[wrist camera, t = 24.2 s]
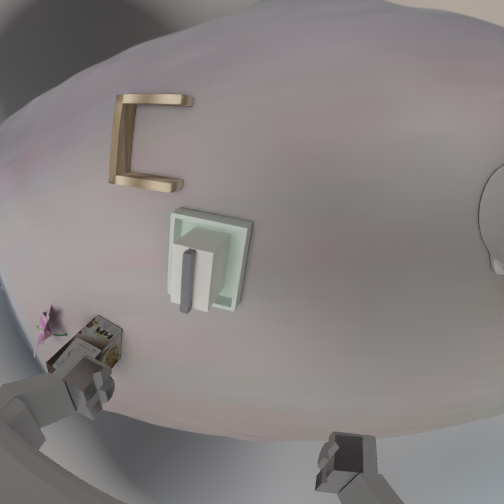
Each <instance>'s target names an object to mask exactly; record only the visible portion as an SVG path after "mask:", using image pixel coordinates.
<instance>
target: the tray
mask: <svg viewBox="0 0 504 504" xmlns="http://www.w3.org/2000/svg"><path fill="white" fill-rule="evenodd" d="M252 223H253V222H250V221H245V220H241V219H236V218H231V217H226V216H221V215H216V214H211V213H206V212H201V211H196V210H191V209H186V208H179V209H177V210H175V211H173V212H172V213H171V223H170V240H169V261H168V294H171V278H172V255H173V243H174V242H176V241H177V240H178V239H180V238H181V237H182V236H184V235H185V234H186V233H188V232H189V231H190V230H192V229H193V228H194V227H200V228H205V229H209V230H214V231H219V232H223V233H228V234H231V236H230V244H229V251H228V259H227V266H226V274H225V281H224V287H223V289H222V290H221V292H220V293H219V295H218V297H217V298H216V300H215V301H214V303H213V304H212V306H213V307H217V308H220V309H224V310H228V311H232V312H235V310H236V308H237V306H238V304H239V302H240V297H241V291H242V285H243V279H244V272H245V266H246V260H247V254H248V248H249V241H250V235H251V229H252Z"/></svg>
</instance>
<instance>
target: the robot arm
mask: <svg viewBox="0 0 504 504" xmlns="http://www.w3.org/2000/svg"><path fill="white" fill-rule="evenodd" d="M479 225H480V232H481V236H482V239H483V241H484V243H485V245H486V247H487V249H488V251H489V253H490V261H491V268H492V270H493V272H495V273H496V274H504V165H503V166H501V167H500V168H499V169H498V170H496V172H495V173H494V174H493V175H492V176H491V178H490V179H489V181H488V183H487V185H486V187H485V189H484V192H483V195H482V198H481V203H480V209H479ZM111 374H112V370H111V367H110V366H108V365H106V364H104V363H102V362H100V361H98V360H96V359H94V358H92V357H90V356H89V355H87V354H85V353H83V352H81V351H79V350H78V351H75V352H74V353H73V354H72V355H71V356H70V357H69V358H68V359H67V360H66V361H65V362H64V363H63V364H61V365H60V366H59V367H58V368H57V369H56V370H55V371H54V372H53V373H52V374H51V373H50V372H49V373H45V374H42V375H38V376H34V377H30V378H26V379H23V380H19V381H15V382H11V383H7V384H3V385H2V386H1V387H0V504H127V503H124V502H122V501H120V500H118V499H116V498H114V497H112V496H110V495H109V494H107V493H105V492H103V491H101V490H99V489H97V488H96V487H94V486H92V485H90V484H88V483H87V482H85V481H84V480H82V479H80V478H79V477H77V476H75V475H74V474H72V473H71V472H69V471H67V470H66V469H64V468H63V467H61V466H60V465H58V464H57V463H56V462H54V461H53V460H51V459H50V458H48V457H47V456H45V455H44V454H43V453H41V452H40V451H39V449H40V447H41V446H42V445H43V443H44V442H45V441H46V440H45V436H44V435H43V433H42V432H41V430H40V428H42V427H45V426H47V425H50V424H52V423H54V422H56V421H59V420H61V419H63V418H66V417H68V416H70V415H72V414H74V413H76V411H77V412H79V413H80V414H82V415H84V416H86V417H88V418H90V419H92V420H95V418H96V417H97V416H98V414H99V413H100V412H101V410H102V404H103V403H106V402H108V401H109V400H110V399H111V397H112V395H113V392H114V389H115V384H114V380H113V379H112V377H111V376H110V375H111ZM318 467H319V468H320V470H321V471H320V472H319V473H318V475H317V476H316V486H315V491H320V492H329V493H337V495H338V497H339V499H340V501H341V503H342V504H404V503H403V502H402V500H401V499H400V498H399V496H398V495H397V494H396V493H395V491H394V490H393V489H392V487H391V486H390V485H389V483H388V482H387V481H386V479H385V478H384V477H383V475H382V474H378V468H377V451H376V438H375V437H374V436H371V435H360V434H352V433H343V432H332V433H331V434H330V436H329V442H326V443H325V444H324V445H323V447H322V449H321V452H320V454H319V459H318Z"/></svg>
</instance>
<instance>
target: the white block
mask: <svg viewBox="0 0 504 504" xmlns="http://www.w3.org/2000/svg"><path fill="white" fill-rule="evenodd" d="M230 236H231V234H228V233H223V232H219V231H214V230H209V229H205V228H200V227H194V228H193V229H192V230H190V231H189V232H188V233H186V234H185V235H184V236H182V237H181V238H180V239H178V240H177V241H176V242H174V243H173V255H172V278H171V302H174V303H177V304H180V312H183V313H186V314H188V313H189V311H190V310H191V308H194V309H198V310H201V311H205V312H208V311H209V309H210V307H211V306H212V304H213V303H214V301H215V300H216V298H217V297H218V295H219V293H220V292H221V290H222V289H223V287H224V281H225V274H226V266H227V259H228V251H229V244H230Z"/></svg>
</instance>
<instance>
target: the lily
mask: <svg viewBox="0 0 504 504" xmlns="http://www.w3.org/2000/svg"><path fill="white" fill-rule="evenodd" d="M50 308H51V306H50ZM50 308H49V310H48V312H47V315H46V317H45V316H44V314H43V313H42V315H41V319H40V324H39V327H38V326H37V328H39V329H40V333H39V335H38V339H37V343H36V346H35V351H34V357H35V353H36V350H37V347H38V345H39V344H40V342H41V341H42V340H43V342H42V343H41V346H42V348H43V347H44V340H45V339H47V338H48V337H50V336H52V335H54V336H66V335H67V334H64V335H56V334H53V333H52V332H51V330H50V327H49V323H48V320H49V312H50Z"/></svg>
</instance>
